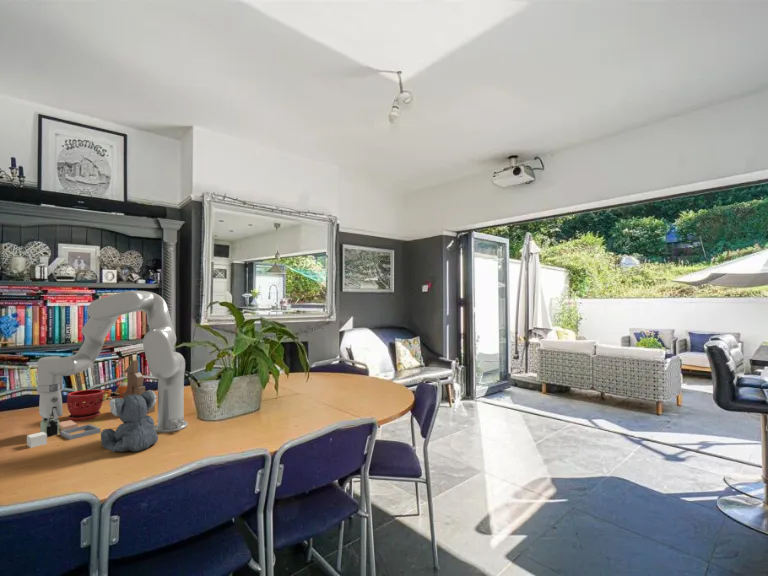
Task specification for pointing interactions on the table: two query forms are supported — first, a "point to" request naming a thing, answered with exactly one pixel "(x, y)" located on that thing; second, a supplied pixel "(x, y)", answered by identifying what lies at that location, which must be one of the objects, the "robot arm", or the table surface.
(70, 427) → the terracotta brick
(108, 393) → the toy tea set
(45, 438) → the cream cube
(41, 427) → the sage block
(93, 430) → the grey tray
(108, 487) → the table surface
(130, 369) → the wooden toy
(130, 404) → the koala plush
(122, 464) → the table surface
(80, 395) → the plant pot
